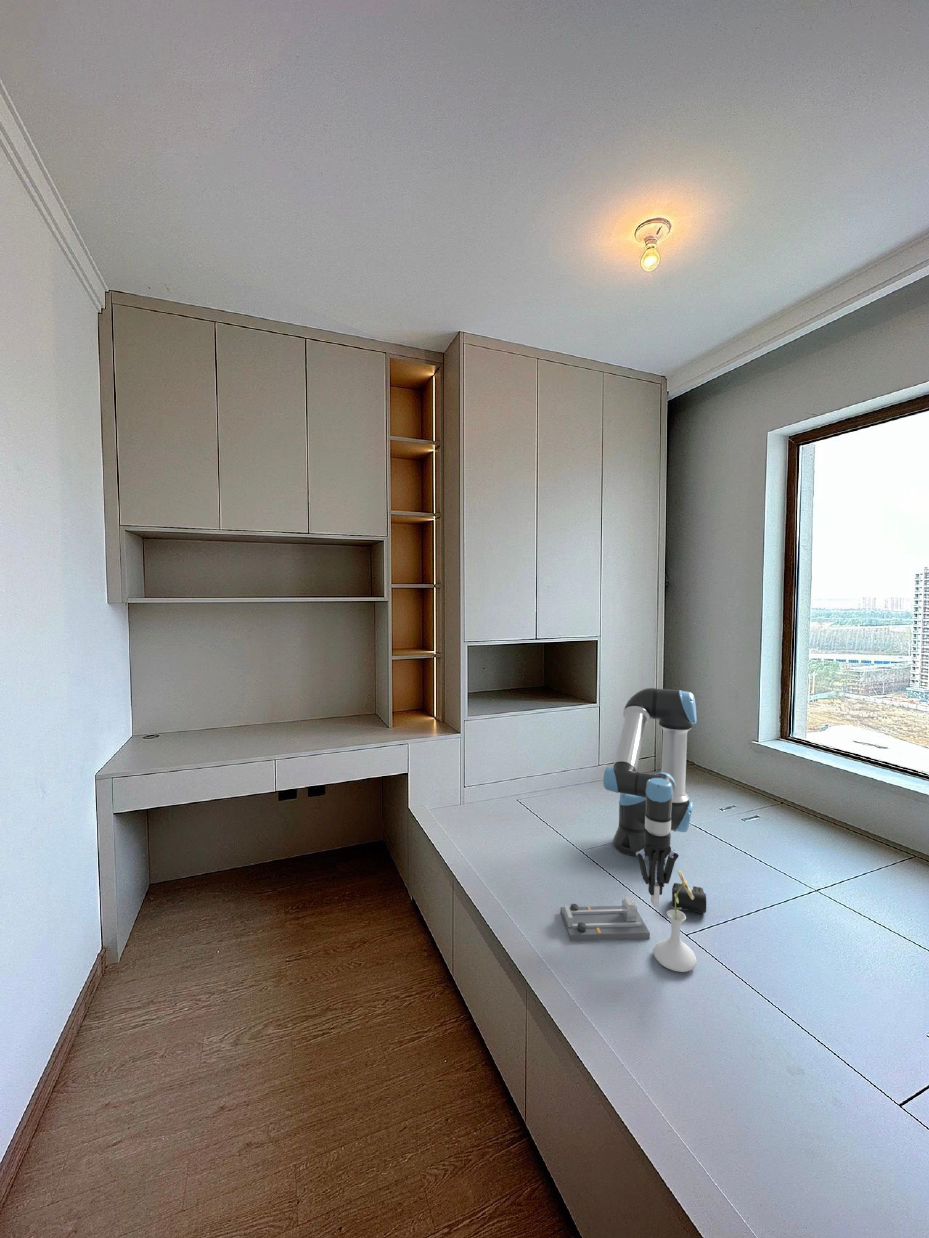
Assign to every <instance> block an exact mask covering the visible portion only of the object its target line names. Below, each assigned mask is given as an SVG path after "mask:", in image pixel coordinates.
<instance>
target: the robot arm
mask: <svg viewBox="0 0 929 1238" xmlns="http://www.w3.org/2000/svg"><path fill="white" fill-rule="evenodd" d="M696 706H697V705H696V699H695V695H694V694H693V693H692V692H690V691H684V690H681V689H677V690H676V689H667V688H656V687H648V688H643V689H641V690H639V691H637V692H636V693H634V695H632V696H631V697H630V699H629V700H627V701H626V704H625V706H624V709H623V714H622V716H623V718H624V720H623V725H622V729H621V733H620V737H619V740H618V741H619V742H618V745H617V749H616V752H615V753H616V754H615V758H614V761H613V766H612V767H608V766H607V767H606V768H605V769H604V772H603V782H602V783H603V788H604V789H605V790H607V791H609V792H613V793H617V794H619V801H618V804H619V807H618V809H619V810H618V826H617V829H616V832H615V834H614V837H613V846H614V848H615V849H616V850H617V851H618V852H620V853H622V854H624V855H626V856H631V857H637V858H638V863H639V868H640V873H641V877H642V880H643V882H644V883H645V884H646V885H648V890H647V891H648V894H650V903H651V904H652V906H653V907H655V908H656V907H657V908H658V907H660V896H662V894H663V888H664V887H665V884H667V885H668V884H670V880H671V877H672V874H673V870H674V867H675V863H676V861H677V860H678V858H679V854H678V853H677V851H676V850H675V849H672V847H671V838H672V837H671V836H672V834H671V832H679V833H686V832H688V830H689V829H690V822H691V818H692V813H693V812H692V811H693V808H694V807H693V806H694V803H693V801H690V797H689V795H688V793H686V777H687V776H686V775H687V773H686V772H687V749H688V732H689V731H690V730H692V728H693V725H696V724H697V718H698V717H697V707H696ZM650 720H658V726H659V727H660V728H661V729H662V745H661V746H662V747H661V748H662V750H661V771H660V772H657V773H655V774H652V773H646V772H639V771H638V770H637V769H638V765H639V760H640V755H641V749H642V745H643V739H644V736H645V735H644V734H645V731H646V730H645V729H646V725H647V724H648V723H649V722H650ZM645 857H647V859H648V870H647V865H646V861H645Z"/></svg>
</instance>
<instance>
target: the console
mask: <svg viewBox="0 0 929 1238" xmlns="http://www.w3.org/2000/svg"><path fill="white" fill-rule="evenodd" d="M559 909H560V910H559V911H560V912H559V913H560V916H561V920H562V923H563V925H564V928H565V931H566V933H567V937H568V941H569V942H586V941H587V942H591V941H592V942H593V941H595V942H597V941H624V940H629V941H630V940H650V937H651V936H650V935H651V932H650V931H649V929H648V927H647V925H646V924H645V922H644V920H643V918H642V916H641V915H640V913H639V911H638V910H637V922H627V923H626V921H625V919H624V917H623V915H622V905H604V906H603V905H597V906H595V905H594V906H593V905H592V906H579V905H578V904H576V903H571V904H570V906H569V905H568V904H565V905H564V906H561V907H560V908H559Z"/></svg>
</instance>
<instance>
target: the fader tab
mask: <svg viewBox="0 0 929 1238" xmlns="http://www.w3.org/2000/svg"><path fill="white" fill-rule="evenodd" d="M621 906H622V915H623V917H624V919H625V921H626V923H627V922H637V911H638V907H637V906H636V904H635V902H634V901H633V898H632V896H624V897H623V898H622V899H621Z"/></svg>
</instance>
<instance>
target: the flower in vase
mask: <svg viewBox="0 0 929 1238" xmlns="http://www.w3.org/2000/svg"><path fill="white" fill-rule="evenodd" d="M677 874H678V876H679V878H680V881H681V883H680V884H681V887H680V888H679V890H678V891H677V893H676V894H674V896H675V908H673V909H669V910H667V911H666V915H667V917H668V919H669V921H670V926H671V928H670V929H671V932H670V937H668V938H665V939H661V940H659V941H658V942H656V944H655V945H654V947H653V950H652V951H653V955H654V958H655V960H657V962H658V963H659V964H660V965H661V966H663V967H665V968H667V969H669V970H670V971H674V972H677V973H679V972H680V973H685V972H690V971H692V970H693V969H695V967H696V966H697V964H698V961H697V956H696V954H695V951H693V950H692V948H691V947H690V946H688V945H687V944H686V943H684V942H683V941H682V940H681V928H682V925H683V923H684V922H685V920H686V919H687V916H686V914H685V913H684V912H683V911H681V910H683V909H682V908H676V902H677V903H679V900H678V897H677V895H678V893H679V891H680V889H681V888H682V887H683V888H685V889H686V891H687V893H688V895H689V896H690V898H691V899H692V900H694V899H693V898H694V896H693V894H692V893H691V892H692V891H691V890H692V889H691V888H690V887H689V885H688V881H687V879H685V877H684V874H683V872H682V871H681V870H680V869H679V870H677Z"/></svg>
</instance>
